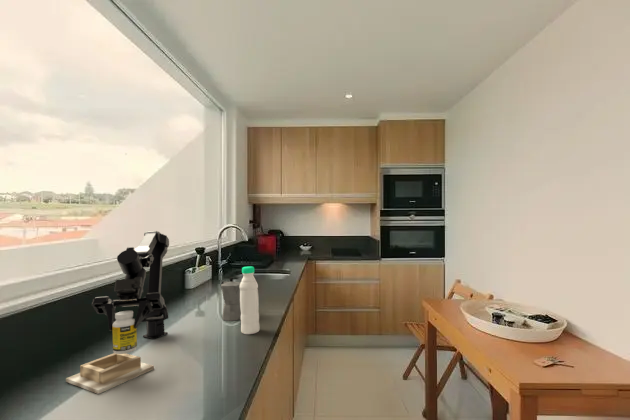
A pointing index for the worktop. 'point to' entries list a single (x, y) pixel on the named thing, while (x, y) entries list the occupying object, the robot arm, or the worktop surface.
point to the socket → (109, 372)
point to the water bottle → (249, 302)
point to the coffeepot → (231, 300)
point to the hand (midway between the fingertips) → (122, 329)
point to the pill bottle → (124, 333)
